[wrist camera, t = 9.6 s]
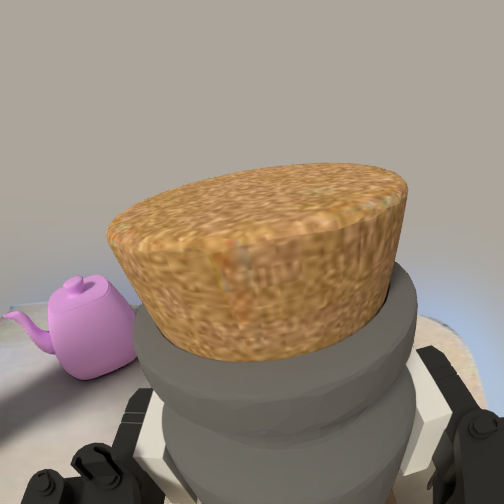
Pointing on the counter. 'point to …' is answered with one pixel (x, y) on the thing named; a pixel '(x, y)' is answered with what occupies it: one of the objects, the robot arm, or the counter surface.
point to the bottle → (277, 330)
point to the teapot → (85, 327)
